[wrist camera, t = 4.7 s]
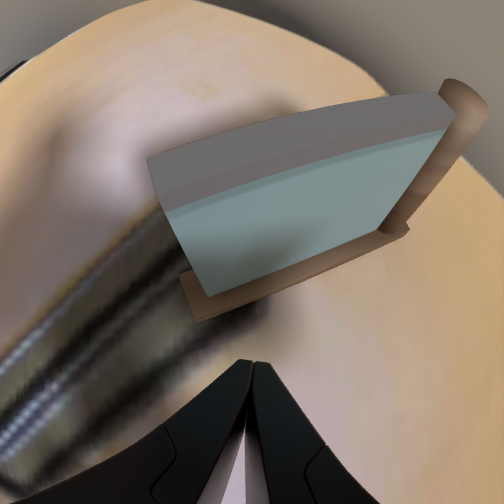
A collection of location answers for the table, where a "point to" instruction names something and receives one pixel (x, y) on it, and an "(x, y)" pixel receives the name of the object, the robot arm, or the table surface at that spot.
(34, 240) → the table surface
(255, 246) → the panel
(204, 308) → the brown l-shaped piece
